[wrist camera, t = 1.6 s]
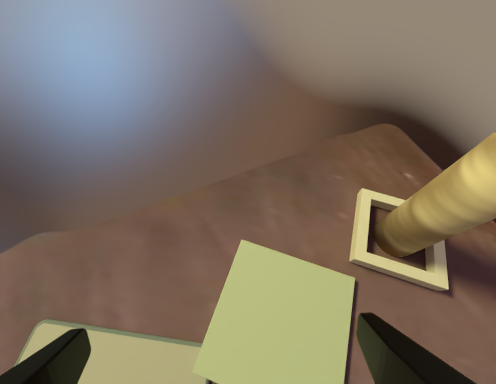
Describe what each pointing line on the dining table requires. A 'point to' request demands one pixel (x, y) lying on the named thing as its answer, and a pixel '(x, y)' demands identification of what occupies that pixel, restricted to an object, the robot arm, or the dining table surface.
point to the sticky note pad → (124, 355)
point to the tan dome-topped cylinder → (444, 204)
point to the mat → (278, 322)
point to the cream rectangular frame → (430, 278)
